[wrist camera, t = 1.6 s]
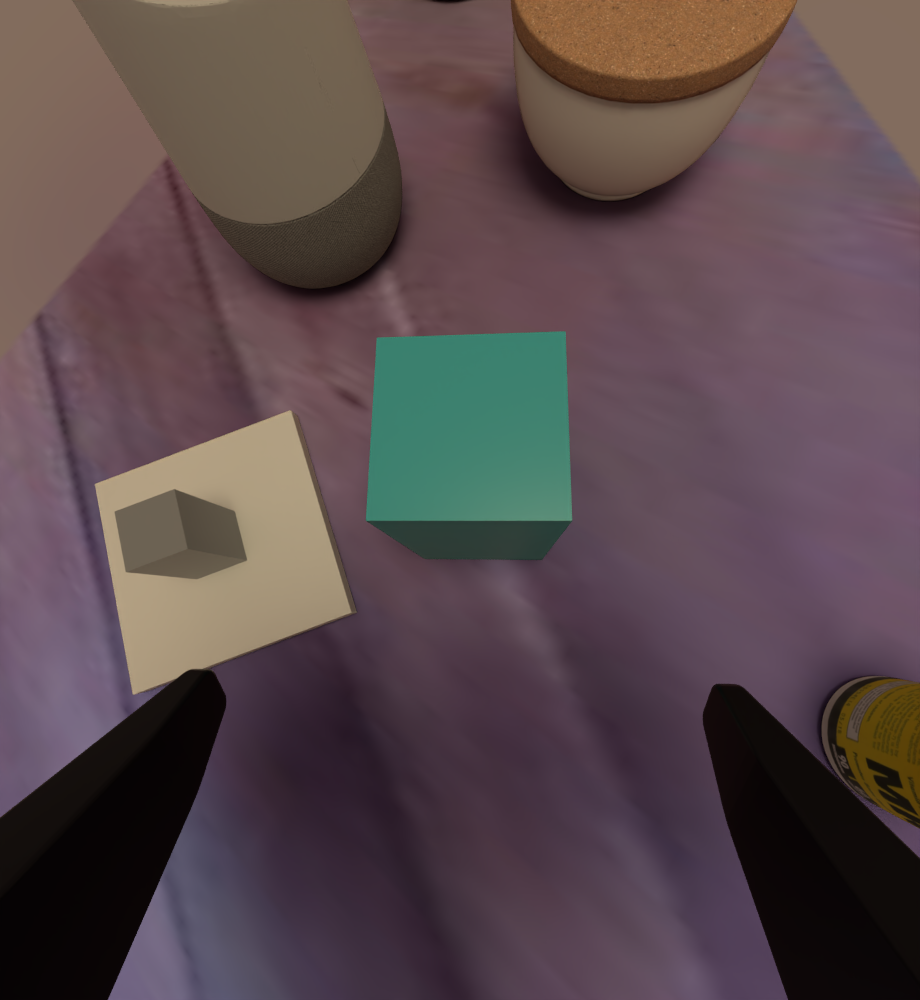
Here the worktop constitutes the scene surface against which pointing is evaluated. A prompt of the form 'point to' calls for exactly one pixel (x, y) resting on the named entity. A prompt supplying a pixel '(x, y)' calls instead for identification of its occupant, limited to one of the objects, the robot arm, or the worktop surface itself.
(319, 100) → the smart speaker
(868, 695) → the supplement bottle
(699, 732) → the worktop surface
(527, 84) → the lidded jar
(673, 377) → the worktop surface
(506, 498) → the teal square pillar
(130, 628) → the post block
